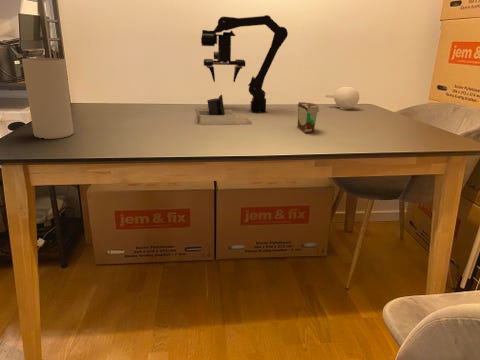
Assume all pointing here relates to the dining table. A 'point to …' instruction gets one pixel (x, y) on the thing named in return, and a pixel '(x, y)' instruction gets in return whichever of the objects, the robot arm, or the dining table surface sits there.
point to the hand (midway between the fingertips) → (224, 82)
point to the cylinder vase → (48, 97)
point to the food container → (307, 117)
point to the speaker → (216, 106)
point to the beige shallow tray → (219, 118)
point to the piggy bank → (345, 97)
